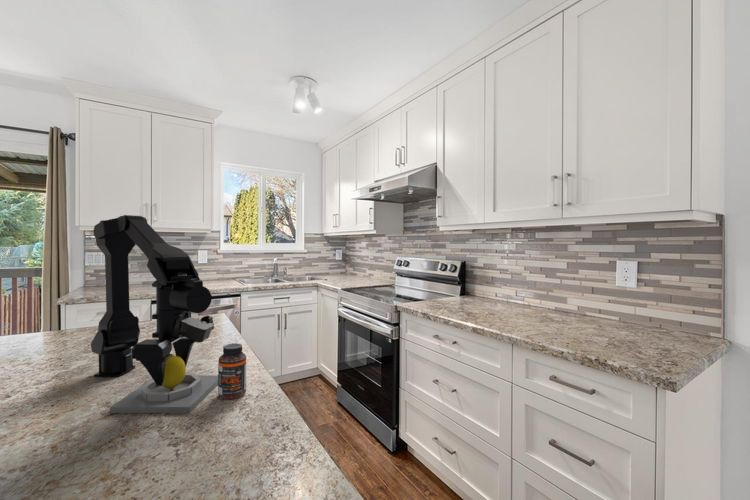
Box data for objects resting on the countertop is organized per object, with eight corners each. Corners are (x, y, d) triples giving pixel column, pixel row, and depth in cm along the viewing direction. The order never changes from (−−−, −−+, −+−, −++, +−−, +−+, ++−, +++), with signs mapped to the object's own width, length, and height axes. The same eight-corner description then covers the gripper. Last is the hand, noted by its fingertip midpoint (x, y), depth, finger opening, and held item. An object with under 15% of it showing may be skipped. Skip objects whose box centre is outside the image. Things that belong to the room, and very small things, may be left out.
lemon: (172, 396, 74) (172, 360, 74) (151, 393, 75) (151, 357, 75) (191, 385, 79) (191, 351, 79) (171, 383, 80) (171, 349, 80)
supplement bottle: (218, 403, 74) (218, 351, 73) (217, 392, 79) (217, 343, 78) (248, 397, 76) (247, 347, 76) (244, 387, 82) (244, 340, 81)
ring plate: (109, 413, 69) (109, 399, 69) (157, 380, 85) (157, 369, 85) (189, 412, 69) (189, 399, 69) (222, 380, 85) (222, 369, 85)
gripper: (185, 317, 67) (186, 395, 68) (224, 300, 86) (225, 361, 87) (128, 317, 67) (129, 395, 68) (180, 300, 86) (180, 361, 86)
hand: (172, 376), depth 77 cm, fingers open, 9 cm apart
